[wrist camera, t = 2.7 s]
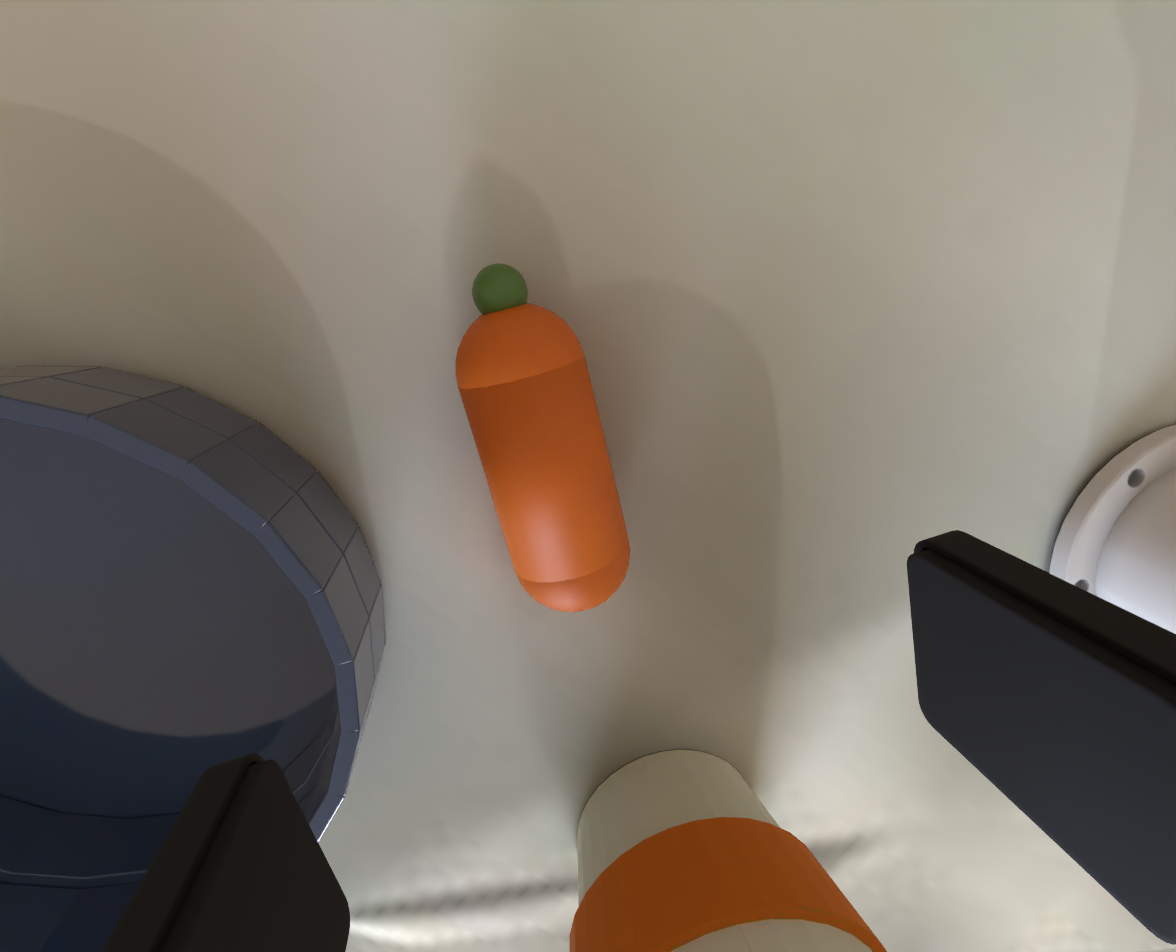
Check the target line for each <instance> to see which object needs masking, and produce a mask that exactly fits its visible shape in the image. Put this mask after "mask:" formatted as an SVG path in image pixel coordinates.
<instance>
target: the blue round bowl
mask: <svg viewBox="0 0 1176 952" xmlns="http://www.w3.org/2000/svg"><path fill="white" fill-rule="evenodd" d="M385 643H386V636H385V623H384V610H383V597H382V585H381V582H380V579H379V577H378V574H377V571H376V569H375V566H374V564H373V561H372V559H371V556H370V553H369V551H368V548H367V546H366V543H365V540H364V538H363V535H362V533H361V530H360V528H359V526H358V524H357V523H356V521H355V520H354V519H353V517H352V516H351V515H350V513H349V512H348V511H347V509H346V508H345V506H344V505H343V504H342V502H341V501H340V500H339V498H338V497H337V496H336V494H335V493H334V492H333V490H332V489H331V488H330V486H329V485H328V484H327V482H326V481H325V480H324V478H323V477H322V476H321V474H320V473H319V472H318V471H317V470H316V468H314V467H313V466H312V465H311V464H309V463H308V462H307V461H306V460H304V459H303V458H302V457H301V456H300V455H298V454H297V453H296V452H295V451H293V450H292V449H291V448H290V447H289V446H287V445H286V444H285V443H284V442H282V441H281V440H280V439H279V438H278V437H276V436H275V435H274V434H273V433H271V432H270V431H269V430H268V429H266V428H265V427H264V426H263V425H262V424H260V423H258V422H257V421H255V420H253V419H251V418H249V417H247V416H245V415H243V414H241V413H239V412H237V411H235V410H233V409H231V408H228V407H226V406H224V405H222V404H220V403H218V402H216V401H214V400H212V399H210V398H208V397H206V396H204V395H202V394H200V393H198V392H196V391H194V390H192V389H190V388H188V387H184V386H182V385H177V384H173V383H169V382H165V381H161V380H156V379H152V378H148V377H144V376H139V375H135V374H131V373H127V372H122V371H118V370H114V369H110V368H106V367H95V366H15V367H8V368H1V369H0V952H102V950H103V948H104V946H105V944H106V943H107V941H108V939H109V937H110V936H111V934H112V932H113V930H114V929H115V927H116V925H117V923H118V922H119V920H120V918H121V916H122V915H123V913H124V911H125V909H126V907H127V906H128V904H129V902H130V900H131V899H132V897H133V895H134V893H135V892H136V890H137V888H138V886H139V885H140V883H141V881H142V879H143V878H144V876H145V874H146V872H147V871H148V869H149V867H150V865H151V863H152V862H153V860H154V858H155V856H156V855H157V853H158V851H159V849H160V848H161V846H162V844H163V842H164V841H165V839H166V837H167V835H168V834H169V832H170V830H171V828H172V826H173V825H174V823H175V821H176V819H177V818H178V816H179V814H180V812H181V811H182V809H183V807H184V805H185V804H186V802H187V800H188V798H189V797H190V795H191V793H192V791H193V789H194V788H195V786H196V784H197V782H198V781H199V779H200V777H201V775H202V774H203V773H204V772H205V770H206V769H208V768H209V767H211V766H214V765H217V764H220V763H223V762H227V761H230V760H233V759H236V758H239V757H242V756H245V755H249V754H252V753H254V754H258V755H260V756H261V757H262V758H263V759H264V761H266V760H269V759H270V760H274V761H275V762H277V764H278V765H279V767H280V768H281V770H282V772H283V774H284V776H285V778H286V780H287V782H288V784H289V786H290V788H291V790H292V792H293V794H294V796H295V798H296V800H297V802H298V804H299V806H300V808H301V810H302V812H303V814H304V816H305V818H306V820H307V822H308V824H309V826H310V828H311V830H312V832H313V834H314V836H315V838H316V840H317V842H319V840H320V838H321V837H322V835H323V833H324V831H325V830H326V828H327V826H328V825H329V823H330V821H331V820H332V818H333V816H334V814H335V813H336V811H337V809H338V808H339V806H340V804H341V803H342V801H343V799H344V798H345V794H346V792H347V789H348V785H349V781H350V778H351V774H352V771H353V767H354V763H355V760H356V756H357V753H358V749H359V745H360V742H361V738H362V735H363V731H364V727H365V724H366V720H367V717H368V713H369V709H370V706H371V702H372V699H373V695H374V691H375V687H376V682H377V678H378V674H379V669H380V665H381V661H382V656H383V652H384V648H385Z"/></svg>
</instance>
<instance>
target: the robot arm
mask: <svg viewBox="0 0 1176 952" xmlns="http://www.w3.org/2000/svg"><path fill="white" fill-rule="evenodd" d="M907 571H908V583H909V594H910V606H911V618H912V629H913V641H914V652H915V664H916V676H917V687H918V699H919V704H920V707H921V710H922V712H923V714H924V716H925V718H926V719H927V721H928V722H929V723H930V724H931V726H932V727H933V728H934V729H935V730H936V731H937V732H939V733H940V734H941V735H942V736H943V737H944V738H945V739H946V740H947V741H948V742H949V743H950V744H951V745H952V746H953V747H954V748H956V749H957V750H958V751H959V752H960V753H961V754H962V755H963V756H964V757H965V758H966V759H967V760H968V761H969V762H970V763H971V764H973V765H974V766H975V767H976V768H977V769H978V770H979V771H980V772H981V773H982V774H983V775H984V776H985V777H986V778H987V779H989V780H990V781H991V782H992V783H993V784H994V785H995V786H996V787H997V788H998V789H999V790H1000V791H1001V792H1002V793H1003V794H1004V795H1006V796H1007V797H1008V798H1009V799H1010V800H1011V801H1012V802H1013V803H1014V804H1015V805H1016V806H1017V807H1018V808H1019V809H1020V810H1021V811H1023V812H1024V813H1025V814H1026V815H1027V816H1028V817H1029V818H1030V819H1031V820H1032V821H1033V822H1034V823H1035V824H1036V825H1037V826H1039V827H1040V828H1041V829H1042V830H1043V831H1044V832H1045V833H1046V834H1047V835H1048V836H1049V837H1050V838H1051V839H1052V840H1053V841H1054V842H1056V843H1057V844H1058V845H1059V846H1060V847H1061V848H1062V849H1063V850H1064V851H1065V852H1066V853H1067V854H1068V855H1069V856H1070V857H1071V858H1073V859H1074V860H1075V861H1076V862H1077V863H1078V864H1079V865H1080V866H1081V867H1082V868H1083V869H1084V870H1085V871H1086V872H1087V873H1089V874H1090V875H1091V876H1092V877H1093V878H1094V879H1095V880H1096V881H1097V882H1098V883H1099V884H1100V885H1101V886H1102V887H1103V888H1104V889H1106V890H1107V891H1108V892H1109V893H1110V894H1111V895H1112V896H1113V897H1114V898H1115V899H1116V900H1117V901H1118V902H1119V903H1120V904H1121V905H1123V906H1124V907H1125V908H1126V909H1127V910H1128V911H1129V912H1130V913H1131V914H1132V915H1133V916H1134V917H1135V918H1136V919H1137V920H1139V921H1140V922H1141V923H1142V924H1143V925H1144V926H1145V927H1146V928H1147V929H1148V930H1149V931H1150V932H1152V933H1153V934H1154V935H1155V936H1157V937H1158V938H1160V939H1161V940H1163V941H1165V942H1166V943H1170V944H1176V425H1172V426H1169V427H1166V428H1162V429H1159V430H1157V431H1155V432H1153V433H1151V434H1149V435H1147V436H1145V437H1143V438H1141V439H1139V440H1137V441H1136V442H1134V443H1133V444H1132V445H1130V446H1129V447H1127V448H1126V449H1125V450H1123V451H1122V452H1120V453H1119V454H1118V455H1116V456H1115V457H1114V458H1113V459H1111V460H1110V461H1109V462H1108V463H1107V464H1106V465H1105V466H1104V467H1103V468H1102V469H1101V470H1100V471H1099V472H1098V473H1097V474H1096V475H1095V476H1094V477H1093V478H1092V479H1091V481H1090V482H1089V483H1088V485H1087V486H1086V487H1085V488H1084V490H1083V491H1082V492H1081V493H1080V495H1079V496H1078V497H1077V499H1076V501H1075V502H1074V504H1073V506H1072V508H1071V509H1070V511H1069V513H1068V514H1067V516H1066V518H1065V520H1064V522H1063V524H1062V527H1061V529H1060V532H1059V535H1058V537H1057V540H1056V542H1055V545H1054V550H1053V554H1052V559H1051V563H1050V573H1048V572H1046V571H1044V570H1042V569H1039V568H1037V567H1035V566H1033V565H1031V564H1029V563H1027V562H1025V561H1023V560H1021V559H1019V558H1017V557H1015V556H1013V555H1010V554H1008V553H1006V552H1004V551H1002V550H1000V549H998V548H996V547H994V546H992V545H990V544H988V543H986V542H983V541H981V540H979V539H977V538H975V537H973V536H971V535H969V534H967V533H965V532H962V531H958V530H956V531H951V532H948V533H944V534H941V535H938V536H935V537H932V538H929V539H925V540H922V541H920V542H918V543H917V544H916V546H915V549H914V554H911V555H910V556H909V557H908V560H907ZM349 928H350V913H349V907H348V902H347V900H346V897H345V895H344V893H343V891H342V889H341V887H340V885H339V883H338V881H337V879H336V877H335V875H334V873H333V871H332V869H331V867H330V865H329V863H328V861H327V859H326V857H325V855H324V853H323V851H322V849H321V848H320V846H319V844H318V842H317V840H316V838H315V836H314V834H313V832H312V830H311V828H310V826H309V824H308V822H307V820H306V818H305V816H304V814H303V812H302V810H301V808H300V806H299V804H298V802H297V800H296V798H295V796H294V794H293V792H292V790H291V788H290V786H289V784H288V782H287V780H286V778H285V776H284V774H283V772H282V770H281V768H280V767H279V765H278V764H277V762H275V761H274V760H270V759H269V760H266V761H264V759H263V758H262V757H261V756H260V755H258V754H254V753H252V754H249V755H245V756H242V757H239V758H236V759H233V760H230V761H227V762H223V763H220V764H217V765H214V766H211V767H209V768H208V769H206V770H205V772H204V773H203V774H202V775H201V777H200V779H199V781H198V782H197V784H196V786H195V788H194V789H193V791H192V793H191V795H190V797H189V798H188V800H187V802H186V804H185V805H184V807H183V809H182V811H181V812H180V814H179V816H178V818H177V819H176V821H175V823H174V825H173V826H172V828H171V830H170V832H169V834H168V835H167V837H166V839H165V841H164V842H163V844H162V846H161V848H160V849H159V851H158V853H157V855H156V856H155V858H154V860H153V862H152V863H151V865H150V867H149V869H148V871H147V872H146V874H145V876H144V878H143V879H142V881H141V883H140V885H139V886H138V888H137V890H136V892H135V893H134V895H133V897H132V899H131V900H130V902H129V904H128V906H127V907H126V909H125V911H124V913H123V915H122V916H121V918H120V920H119V922H118V923H117V925H116V927H115V929H114V930H113V932H112V934H111V936H110V937H109V939H108V941H107V943H106V944H105V946H104V948H103V950H102V952H345V950H346V945H347V940H348V935H349Z"/></svg>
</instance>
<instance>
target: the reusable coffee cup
mask: <svg viewBox="0 0 1176 952" xmlns="http://www.w3.org/2000/svg"><path fill="white" fill-rule="evenodd" d="M577 856H578V899H579V907H578V909H577V911H576V913H575V916H574V920H573V924H572V928H571V932H570V952H887V951H886V950H885V948H884V947H883V945H882V944H881V943H880V941H879V940H878V939H877V937H876V936H875V935H874V933H873V932H872V931H871V930H870V928H869V927H868V926H867V924H866V923H865V922H864V920H863V919H862V918H861V917H860V915H859V914H858V913H857V911H856V910H855V909H854V907H853V906H852V905H851V904H850V902H849V901H848V900H847V898H846V897H845V896H844V895H843V893H842V892H841V891H840V889H839V888H838V887H837V885H836V884H835V883H834V882H833V880H832V879H831V878H830V876H829V875H828V874H827V872H826V871H825V870H824V869H823V867H822V866H821V865H820V863H819V862H818V861H817V859H816V858H815V857H814V856H813V854H812V853H811V852H810V850H809V849H808V848H807V846H806V845H805V844H803V843H802V842H801V841H800V840H798V839H797V838H796V837H795V836H793V835H792V834H791V833H790V832H788V831H785V830H783V829H781V828H780V827H779V826H778V824H777V823H776V822H775V820H774V819H773V818H772V816H771V815H770V814H769V812H768V811H767V810H766V808H765V807H764V806H763V804H762V803H761V802H760V800H759V799H758V798H757V796H756V795H755V793H754V792H753V791H752V789H751V788H750V787H749V785H748V784H747V783H746V781H745V780H744V779H743V777H742V776H741V775H740V773H739V772H738V771H737V770H736V769H735V768H734V767H732V766H731V765H730V764H729V763H727V762H726V761H724V760H722V759H720V758H718V757H716V756H714V755H712V754H708V753H704V752H700V751H694V750H671V751H662V752H658V753H655V754H651V755H647V756H644V757H642V758H639V759H637V760H635V761H633V762H631V763H629V764H627V765H625V766H624V767H622V768H621V769H619V770H618V771H616V772H615V773H613V774H612V775H610V776H609V777H608V778H607V779H606V780H605V781H604V782H603V783H602V784H601V785H600V786H599V787H598V788H597V789H596V791H595V792H594V793H593V795H592V796H591V797H590V799H589V800H588V802H587V804H586V806H585V808H584V810H583V812H582V814H581V817H580V821H579V825H578V830H577Z"/></svg>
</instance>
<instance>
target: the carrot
mask: <svg viewBox="0 0 1176 952" xmlns="http://www.w3.org/2000/svg"><path fill="white" fill-rule="evenodd" d="M472 295H473V300H474V303H475V305H476V307H477V308H478V310H479V311H480V312H481V313H482V314H483V315H482V316H480V317H479V318H478V319H477V320H476V321H475V322H474V323H473V324H472V325H471V326H470V327H469V329H468V330H467V332H466V333H465V335H464V336H463V338H462V341H461V343H460V345H459V348H458V352H457V357H456V378H457V383H458V388H459V391H460V394H461V397H462V401H463V404H464V407H465V410H466V414H467V417H468V420H469V423H470V427H471V430H472V433H473V436H474V439H475V443H476V446H477V449H478V452H479V456H480V459H481V462H482V465H483V469H484V472H485V475H486V478H487V481H488V485H489V488H490V491H491V494H492V498H493V501H494V504H495V507H496V511H497V514H498V517H499V520H500V524H501V527H502V530H503V533H504V536H505V540H506V543H507V546H508V549H509V553H510V556H511V559H512V562H513V566H514V569H515V572H516V574H517V576H518V578H519V581H520V583H521V584H522V586H523V587H524V589H525V590H526V591H527V592H528V593H529V594H530V595H531V596H532V597H533V598H534V599H535V600H536V601H538V602H539V603H541V604H543V605H545V606H547V607H549V608H551V609H555V610H559V611H564V612H578V611H584V610H588V609H591V608H593V607H596V606H598V605H600V604H601V603H603V602H605V601H606V600H607V599H608V598H609V597H610V596H612V595H613V594H614V593H615V592H616V590H617V589H618V588H619V586H620V585H621V583H622V581H623V580H624V578H625V576H626V572H627V569H628V566H629V558H630V546H629V538H628V534H627V530H626V526H625V522H624V518H623V514H622V509H621V505H620V501H619V497H618V493H617V489H616V485H615V480H614V476H613V472H612V468H611V464H610V460H609V456H608V451H607V447H606V443H605V439H604V435H603V431H602V427H601V422H600V418H599V414H598V410H597V406H596V402H595V398H594V393H593V389H592V385H591V381H590V377H589V373H588V369H587V364H586V360H585V356H584V353H583V350H582V348H581V345H580V342H579V340H578V339H577V337H576V335H575V333H574V332H573V330H572V329H571V328H570V327H569V326H568V324H567V323H566V322H565V321H564V320H563V319H561V318H560V317H559V316H557V315H556V314H555V313H553V312H551V311H549V310H547V309H545V308H543V307H540V306H536V305H532V304H526V301H527V296H528V291H527V285H526V282H525V280H524V278H523V277H522V275H521V274H520V273H519V272H518V271H517V270H516V269H514V268H513V267H511V266H508V265H505V264H492V265H489V266H487V267H485V268H484V269H482V270H481V271H480V272H479V273H478V275H477V276H476V278H475V280H474V283H473V287H472Z"/></svg>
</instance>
